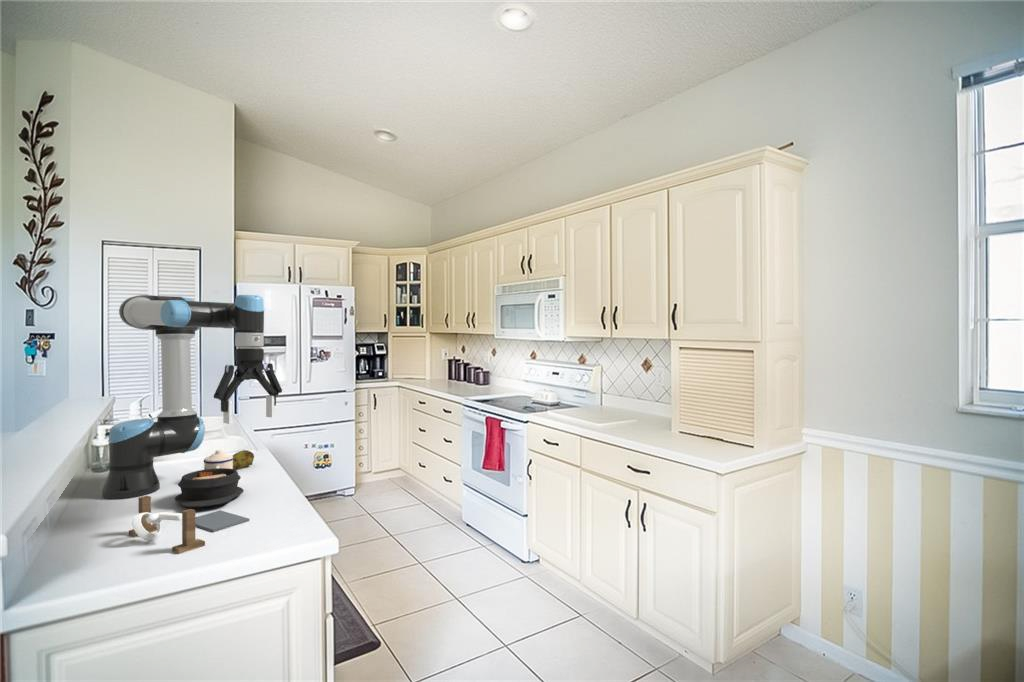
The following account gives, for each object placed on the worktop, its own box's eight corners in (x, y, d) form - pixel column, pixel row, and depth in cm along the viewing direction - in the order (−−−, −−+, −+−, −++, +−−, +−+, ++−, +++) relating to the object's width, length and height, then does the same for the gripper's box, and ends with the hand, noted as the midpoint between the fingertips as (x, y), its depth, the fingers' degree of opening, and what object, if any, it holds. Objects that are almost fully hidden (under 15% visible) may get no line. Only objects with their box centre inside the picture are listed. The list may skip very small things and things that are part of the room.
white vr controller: (166, 548, 126) (166, 519, 126) (124, 544, 129) (124, 516, 129) (191, 537, 134) (191, 509, 134) (151, 533, 136) (151, 506, 136)
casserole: (181, 493, 172) (181, 467, 172) (245, 487, 180) (245, 462, 180) (167, 517, 149) (167, 487, 149) (241, 508, 157) (241, 480, 157)
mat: (184, 522, 144) (184, 520, 144) (220, 512, 153) (220, 510, 153) (213, 532, 137) (213, 529, 137) (249, 520, 146) (249, 518, 146)
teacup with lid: (205, 482, 185) (204, 449, 185) (234, 479, 189) (234, 446, 189) (201, 491, 174) (201, 455, 174) (232, 488, 178) (232, 453, 178)
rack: (128, 534, 136) (128, 499, 136) (154, 527, 141) (154, 493, 141) (179, 553, 123) (178, 515, 123) (205, 545, 129) (204, 508, 129)
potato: (216, 472, 199) (215, 451, 199) (254, 468, 205) (254, 447, 205) (214, 477, 192) (214, 455, 192) (254, 473, 198) (254, 452, 198)
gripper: (215, 348, 143) (215, 427, 143) (294, 347, 165) (294, 415, 165) (199, 348, 146) (199, 425, 147) (278, 347, 168) (278, 413, 168)
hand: (249, 420), depth 156 cm, fingers open, 13 cm apart
